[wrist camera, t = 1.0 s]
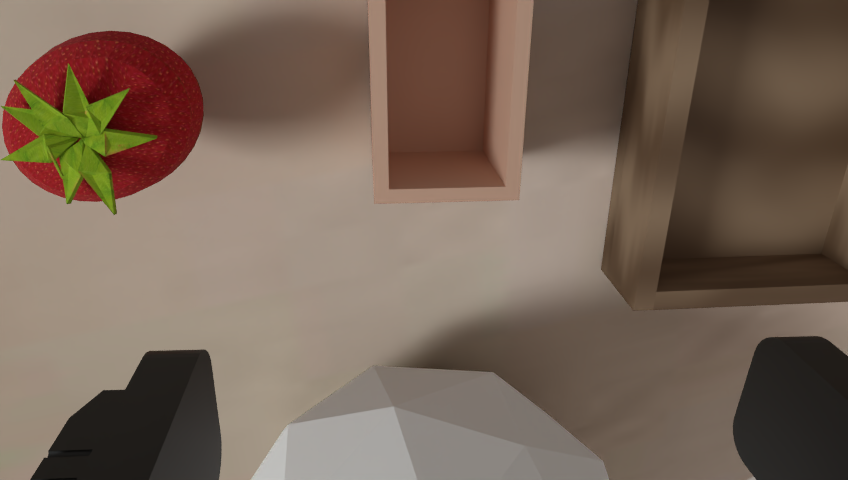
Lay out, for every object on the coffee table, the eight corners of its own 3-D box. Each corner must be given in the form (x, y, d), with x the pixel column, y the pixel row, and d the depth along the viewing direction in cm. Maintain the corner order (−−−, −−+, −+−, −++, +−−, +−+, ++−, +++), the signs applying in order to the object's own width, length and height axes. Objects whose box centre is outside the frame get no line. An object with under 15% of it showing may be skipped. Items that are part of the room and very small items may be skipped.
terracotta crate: (366, -38, 27) (367, -39, 21) (501, -37, 27) (536, -38, 22) (372, 161, 30) (374, 203, 25) (491, 158, 31) (519, 200, 26)
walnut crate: (644, -49, 28) (693, -51, 24) (913, -47, 29) (1004, -48, 25) (601, 269, 34) (633, 310, 30) (821, 261, 35) (880, 300, 31)
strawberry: (258, 108, 29) (210, 173, 20) (127, 184, 30) (23, 279, 21) (179, -12, 27) (84, 1, 18) (39, 75, 28) (-120, 129, 18)
